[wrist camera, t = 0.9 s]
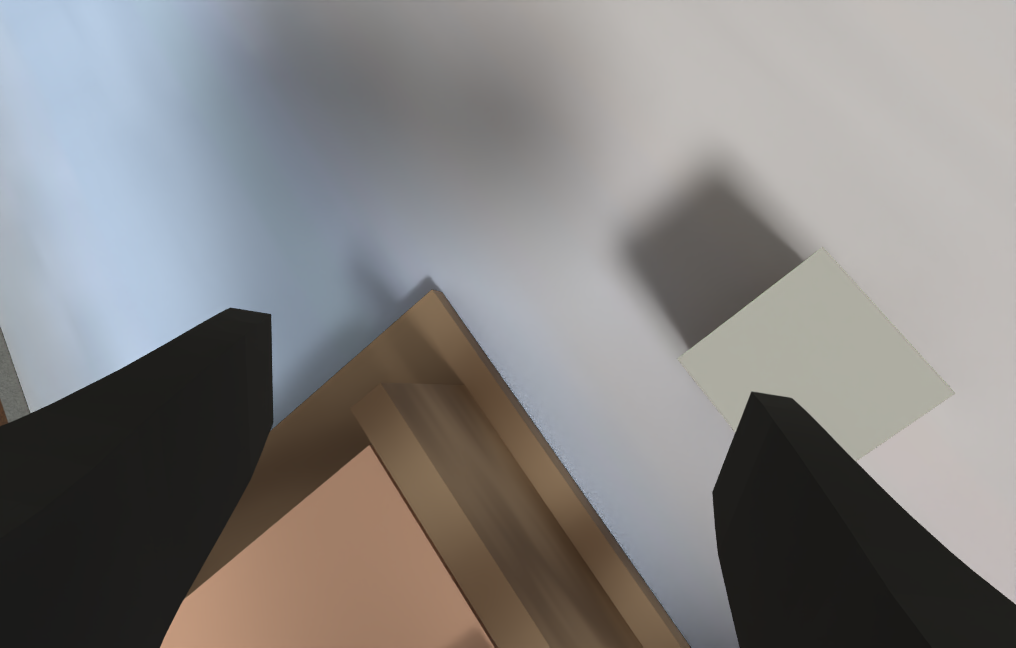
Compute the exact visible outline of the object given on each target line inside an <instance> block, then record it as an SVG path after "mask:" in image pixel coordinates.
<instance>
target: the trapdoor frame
mask: <svg viewBox="0 0 1016 648" xmlns="http://www.w3.org/2000/svg"><path fill="white" fill-rule="evenodd" d="M369 445H373V447H374V448H375V450H376V451H377V453H378V455H379V456H380V458H381V459H382V461H383V463H384V464H385V466H386V468H387V469H388V471H389V472H390V474H391V476H392V477H393V479H394V480H395V482H396V484H397V485H398V487H399V489H400V490H401V492H402V493H403V495H404V497H405V498H406V500H407V501H408V503H409V505H410V506H411V508H412V509H413V511H414V513H415V514H416V516H417V518H418V519H419V521H420V522H421V524H422V526H423V527H424V529H425V530H426V532H427V534H428V535H429V537H430V539H431V540H432V542H433V543H434V545H435V547H436V548H437V550H438V551H439V553H440V555H441V556H442V558H443V559H444V561H445V563H446V564H447V566H448V568H449V569H450V571H451V572H452V574H453V576H454V577H455V579H456V580H457V582H458V584H459V585H460V587H461V589H462V590H463V592H464V593H465V595H466V597H467V598H468V600H469V601H470V603H471V605H472V606H473V608H474V610H475V611H476V613H477V614H478V616H479V618H480V619H481V621H482V622H483V624H484V626H485V627H486V629H487V630H488V632H489V634H490V635H491V637H492V639H493V640H494V642H495V643H496V645H497V647H498V648H691V647H690V646H689V644H688V643H687V641H686V640H685V639H684V637H683V636H682V634H681V633H680V631H679V630H678V629H677V627H676V626H675V624H674V623H673V621H672V620H671V619H670V617H669V616H668V614H667V613H666V611H665V610H664V609H663V607H662V606H661V604H660V603H659V601H658V600H657V599H656V597H655V596H654V594H653V593H652V591H651V590H650V589H649V587H648V586H647V584H646V583H645V581H644V580H643V579H642V577H641V576H640V574H639V573H638V571H637V570H636V569H635V567H634V566H633V564H632V563H631V561H630V560H629V559H628V557H627V556H626V554H625V553H624V551H623V550H622V549H621V547H620V546H619V544H618V543H617V541H616V540H615V539H614V537H613V536H612V534H611V533H610V531H609V530H608V529H607V527H606V526H605V524H604V523H603V521H602V520H601V519H600V517H599V516H598V514H597V513H596V512H595V510H594V509H593V507H592V506H591V504H590V503H589V502H588V500H587V499H586V497H585V496H584V494H583V493H582V492H581V490H580V489H579V487H578V486H577V484H576V483H575V482H574V480H573V479H572V477H571V476H570V474H569V473H568V472H567V470H566V469H565V467H564V466H563V464H562V463H561V462H560V460H559V459H558V457H557V456H556V454H555V453H554V452H553V450H552V449H551V447H550V446H549V444H548V443H547V442H546V440H545V439H544V437H543V436H542V434H541V433H540V432H539V430H538V429H537V427H536V426H535V424H534V423H533V422H532V420H531V419H530V417H529V416H528V414H527V413H526V412H525V410H524V409H523V407H522V406H521V404H520V403H519V402H518V400H517V399H516V397H515V396H514V394H513V393H512V392H511V390H510V389H509V387H508V386H507V384H506V383H505V382H504V380H503V379H502V377H501V376H500V374H499V373H498V372H497V370H496V369H495V367H494V366H493V364H492V363H491V362H490V360H489V359H488V357H487V356H486V354H485V353H484V352H483V350H482V349H481V347H480V346H479V344H478V343H477V342H476V340H475V339H474V337H473V336H472V334H471V333H470V332H469V330H468V329H467V327H466V326H465V324H464V323H463V322H462V320H461V319H460V317H459V316H458V314H457V313H456V312H455V310H454V309H453V307H452V306H451V304H450V303H449V302H448V300H447V299H446V297H445V296H444V294H443V293H442V292H440V291H436V290H433V289H432V290H431V291H430V292H428V293H427V294H426V295H425V296H424V297H423V298H422V299H421V300H419V301H418V302H417V303H416V304H415V305H414V306H413V307H411V308H410V309H409V310H408V311H407V312H406V313H405V314H403V315H402V316H401V317H400V318H399V319H398V320H397V321H395V322H394V323H393V324H392V325H391V326H390V327H389V328H387V329H386V330H385V331H384V332H383V333H382V334H381V335H379V336H378V337H377V338H376V339H375V340H374V341H373V342H371V343H370V344H369V345H368V346H367V347H366V348H365V349H363V350H362V351H361V352H360V353H359V354H358V355H357V356H355V357H354V358H353V359H352V360H351V361H350V362H349V363H347V364H346V365H345V366H344V367H343V368H342V369H341V370H339V371H338V372H337V373H336V374H335V375H334V376H333V377H331V378H330V379H329V380H328V381H327V382H326V383H325V384H324V385H322V386H321V387H320V388H319V389H318V390H317V391H316V392H314V393H313V394H312V395H311V396H310V397H309V398H308V399H306V400H305V401H304V402H303V403H302V404H301V405H300V406H298V407H297V408H296V409H295V410H294V411H293V412H292V413H290V414H289V415H288V416H287V417H286V418H285V419H284V420H282V421H281V422H280V423H279V424H278V425H277V426H276V427H274V428H273V429H272V430H271V431H270V432H269V435H268V438H267V440H266V443H265V446H264V448H263V451H262V453H261V456H260V458H259V461H258V463H257V466H256V468H255V471H254V473H253V476H252V478H251V480H250V482H249V484H248V486H247V488H246V489H245V491H244V493H243V495H242V497H241V499H240V500H239V502H238V504H237V506H236V508H235V509H234V511H233V513H232V515H231V517H230V518H229V520H228V522H227V524H226V526H225V527H224V529H223V531H222V533H221V534H220V536H219V538H218V540H217V542H216V543H215V545H214V547H213V549H212V550H211V552H210V554H209V556H208V558H207V559H206V561H205V563H204V565H203V566H202V568H201V570H200V572H199V573H198V575H197V577H196V579H195V581H194V582H193V584H192V586H191V588H190V589H189V591H188V593H187V595H186V597H188V596H189V595H190V594H191V593H192V592H194V591H195V590H196V589H197V588H198V587H200V586H201V585H202V584H203V583H204V582H206V581H207V580H208V579H209V578H210V577H212V576H213V575H214V574H215V573H216V572H218V571H219V570H220V569H221V568H222V567H224V566H225V565H226V564H227V563H228V562H230V561H231V560H232V559H233V558H234V557H236V556H237V555H238V554H239V553H240V552H242V551H243V550H244V549H245V548H246V547H248V546H249V545H250V544H251V543H252V542H254V541H255V540H256V539H257V538H258V537H260V536H261V535H262V534H263V533H264V532H266V531H267V530H268V529H269V528H270V527H272V526H273V525H274V524H275V523H276V522H278V521H279V520H280V519H281V518H282V517H284V516H285V515H286V514H287V513H288V512H290V511H291V510H292V509H293V508H294V507H296V506H297V505H298V504H299V503H300V502H302V501H303V500H304V499H305V498H306V497H308V496H309V495H310V494H311V493H312V492H314V491H315V490H316V489H317V488H318V487H320V486H321V485H322V484H323V483H324V482H326V481H327V480H328V479H329V478H330V477H332V476H333V475H334V474H335V473H336V472H338V471H339V470H340V469H341V468H342V467H344V466H345V465H346V464H347V463H348V462H350V461H351V460H352V459H353V458H354V457H356V456H357V455H358V454H359V453H360V452H362V451H363V450H364V449H365V448H366V447H368V446H369ZM186 597H185V598H186ZM185 598H184V599H185Z"/></svg>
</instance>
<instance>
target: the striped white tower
mask: <svg viewBox="0 0 1016 648" xmlns="http://www.w3.org/2000/svg"><path fill="white" fill-rule="evenodd" d="M28 414H30V412H29V409H28V406H27V403H26V400H25V398H24V395H23V392H22V389H21V386H20V383H19V380H18V377H17V374H16V372H15V369H14V366H13V363H12V360H11V357H10V354H9V351H8V348H7V346H6V343H5V340H4V337H3V334H2V331H1V328H0V426H2V425H4V424H7V423H9V422H12V421H14V420H17V419H19V418H21V417H23V416H26V415H28Z"/></svg>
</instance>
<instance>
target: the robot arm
mask: <svg viewBox="0 0 1016 648" xmlns="http://www.w3.org/2000/svg"><path fill="white" fill-rule="evenodd" d="M272 424H273V387H272V334H271V314H267V313H261V312H254V311H248V310H242V309H236V308H229V309H227V310H225V311H223V312H221V313H219V314H217V315H215V316H213V317H211V318H210V319H208V320H206V321H204V322H203V323H201V324H199V325H197V326H196V327H194V328H192V329H190V330H189V331H187V332H185V333H184V334H182V335H180V336H178V337H177V338H175V339H173V340H171V341H170V342H168V343H166V344H164V345H163V346H161V347H159V348H157V349H156V350H154V351H152V352H150V353H148V354H147V355H145V356H143V357H141V358H140V359H138V360H136V361H134V362H132V363H131V364H129V365H127V366H125V367H123V368H122V369H120V370H118V371H116V372H114V373H112V374H110V375H108V376H106V377H104V378H102V379H100V380H98V381H96V382H94V383H92V384H90V385H88V386H86V387H84V388H82V389H80V390H78V391H76V392H74V393H72V394H70V395H68V396H66V397H64V398H62V399H60V400H59V401H57V402H54V403H52V404H50V405H48V406H46V407H44V408H41V409H39V410H37V411H35V412H33V413H30V414H28V415H26V416H23V417H21V418H19V419H17V420H14V421H12V422H9V423H7V424H4V425H2V426H0V648H160V646H161V644H162V642H163V640H164V637H165V635H166V633H167V631H168V629H169V627H170V625H171V623H172V621H173V619H174V617H175V615H176V613H177V611H178V609H179V607H180V605H181V604H182V602H183V600H184V598H185V597H186V595H187V593H188V591H189V589H190V588H191V586H192V584H193V582H194V581H195V579H196V577H197V575H198V573H199V572H200V570H201V568H202V566H203V565H204V563H205V561H206V559H207V558H208V556H209V554H210V552H211V550H212V549H213V547H214V545H215V543H216V542H217V540H218V538H219V536H220V534H221V533H222V531H223V529H224V527H225V526H226V524H227V522H228V520H229V518H230V517H231V515H232V513H233V511H234V509H235V508H236V506H237V504H238V502H239V500H240V499H241V497H242V495H243V493H244V491H245V489H246V488H247V486H248V484H249V482H250V480H251V478H252V476H253V473H254V471H255V468H256V466H257V463H258V461H259V458H260V456H261V453H262V451H263V448H264V446H265V443H266V440H267V438H268V435H269V432H270V430H271V427H272ZM712 493H713V506H714V519H715V530H716V540H717V549H718V556H719V560H720V565H721V569H722V574H723V578H724V583H725V587H726V591H727V596H728V600H729V604H730V609H731V613H732V617H733V621H734V625H735V630H736V634H737V638H738V642H739V646H740V648H1016V604H1014V603H1013V602H1012V601H1011V600H1009V599H1008V598H1007V597H1005V596H1004V595H1003V594H1002V593H1000V592H999V591H998V590H997V589H995V588H994V587H993V586H992V585H990V584H989V583H988V582H987V581H985V580H984V579H983V578H982V577H980V576H979V575H978V574H976V573H975V572H974V571H973V570H971V569H970V568H969V567H968V566H967V565H966V564H964V563H963V562H962V561H961V560H960V559H958V558H957V557H956V556H955V555H954V554H953V553H951V552H950V551H949V550H948V549H947V548H946V547H945V546H944V545H942V544H941V543H940V542H939V541H938V540H937V539H936V538H935V537H934V536H933V535H931V534H930V533H929V532H928V531H927V530H926V529H925V528H924V527H923V526H921V525H920V524H919V523H918V522H917V521H916V520H915V519H914V518H913V517H912V516H911V515H909V514H908V513H907V512H906V511H905V510H904V509H903V508H902V507H901V506H900V505H899V504H898V503H897V502H896V501H895V500H894V499H893V498H892V497H891V496H890V495H889V494H888V493H887V492H886V491H885V490H884V489H883V488H882V487H880V486H879V485H878V484H877V483H876V482H875V480H874V479H873V478H872V477H871V476H870V475H869V474H868V473H867V472H866V471H865V470H864V469H863V468H862V467H861V466H860V465H859V464H858V463H857V462H856V461H855V460H854V459H853V458H852V457H851V456H850V455H849V454H848V453H847V452H846V451H845V450H844V449H843V448H842V447H841V446H840V445H839V444H838V443H837V442H836V441H835V440H834V439H833V438H832V437H831V436H830V434H829V433H828V432H827V431H826V430H825V429H824V428H823V427H822V426H821V425H820V424H819V423H818V422H817V421H816V420H815V419H814V418H813V417H812V416H811V415H810V414H809V413H808V412H807V411H806V410H805V409H804V408H803V407H802V406H800V405H799V404H798V403H797V402H796V401H795V400H794V399H793V398H790V397H784V396H778V395H771V394H765V393H759V392H753V391H751V394H750V396H749V399H748V401H747V404H746V407H745V409H744V412H743V414H742V417H741V420H740V422H739V425H738V427H737V430H736V432H735V435H734V438H733V440H732V443H731V445H730V448H729V451H728V453H727V456H726V458H725V461H724V464H723V466H722V469H721V471H720V474H719V477H718V479H717V482H716V484H715V487H714V490H713V492H712Z"/></svg>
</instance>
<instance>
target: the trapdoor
mask: <svg viewBox="0 0 1016 648" xmlns="http://www.w3.org/2000/svg"><path fill="white" fill-rule="evenodd" d="M160 648H498V647H497V645H496V643H495V642H494V640H493V639H492V637H491V635H490V634H489V632H488V630H487V629H486V627H485V626H484V624H483V622H482V621H481V619H480V618H479V616H478V614H477V613H476V611H475V610H474V608H473V606H472V605H471V603H470V601H469V600H468V598H467V597H466V595H465V593H464V592H463V590H462V589H461V587H460V585H459V584H458V582H457V580H456V579H455V577H454V576H453V574H452V572H451V571H450V569H449V568H448V566H447V564H446V563H445V561H444V559H443V558H442V556H441V555H440V553H439V551H438V550H437V548H436V547H435V545H434V543H433V542H432V540H431V539H430V537H429V535H428V534H427V532H426V530H425V529H424V527H423V526H422V524H421V522H420V521H419V519H418V518H417V516H416V514H415V513H414V511H413V509H412V508H411V506H410V505H409V503H408V501H407V500H406V498H405V497H404V495H403V493H402V492H401V490H400V489H399V487H398V485H397V484H396V482H395V480H394V479H393V477H392V476H391V474H390V472H389V471H388V469H387V468H386V466H385V464H384V463H383V461H382V459H381V458H380V456H379V455H378V453H377V451H376V450H375V448H374V447H373V445H369V446H368V447H366V448H365V449H364V450H363V451H362V452H360V453H359V454H358V455H357V456H356V457H354V458H353V459H352V460H351V461H350V462H348V463H347V464H346V465H345V466H344V467H342V468H341V469H340V470H339V471H338V472H336V473H335V474H334V475H333V476H332V477H330V478H329V479H328V480H327V481H326V482H324V483H323V484H322V485H321V486H320V487H318V488H317V489H316V490H315V491H314V492H312V493H311V494H310V495H309V496H308V497H306V498H305V499H304V500H303V501H302V502H300V503H299V504H298V505H297V506H296V507H294V508H293V509H292V510H291V511H290V512H288V513H287V514H286V515H285V516H284V517H282V518H281V519H280V520H279V521H278V522H276V523H275V524H274V525H273V526H272V527H270V528H269V529H268V530H267V531H266V532H264V533H263V534H262V535H261V536H260V537H258V538H257V539H256V540H255V541H254V542H252V543H251V544H250V545H249V546H248V547H246V548H245V549H244V550H243V551H242V552H240V553H239V554H238V555H237V556H236V557H234V558H233V559H232V560H231V561H230V562H228V563H227V564H226V565H225V566H224V567H222V568H221V569H220V570H219V571H218V572H216V573H215V574H214V575H213V576H212V577H210V578H209V579H208V580H207V581H206V582H204V583H203V584H202V585H201V586H200V587H198V588H197V589H196V590H195V591H194V592H192V593H191V594H190V595H189V596H188V597H186V598H185V599H184V600H183V602H182V604H181V605H180V607H179V609H178V611H177V613H176V615H175V617H174V619H173V621H172V623H171V625H170V627H169V629H168V631H167V633H166V635H165V637H164V640H163V642H162V644H161V646H160Z"/></svg>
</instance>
